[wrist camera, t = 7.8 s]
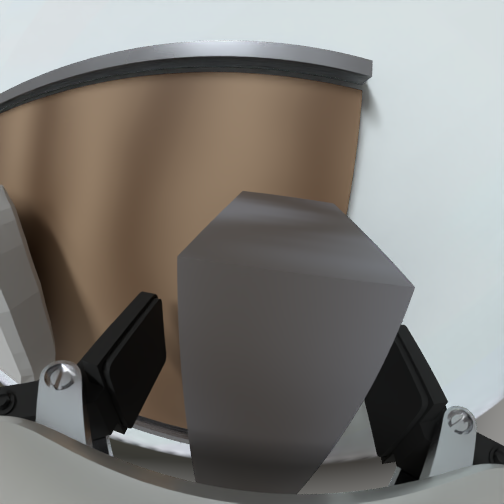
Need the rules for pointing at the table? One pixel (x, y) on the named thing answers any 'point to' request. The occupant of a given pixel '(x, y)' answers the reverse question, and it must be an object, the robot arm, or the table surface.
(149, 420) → the guide rails
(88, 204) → the brown rectangular mat
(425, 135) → the table surface
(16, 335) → the robot toy
